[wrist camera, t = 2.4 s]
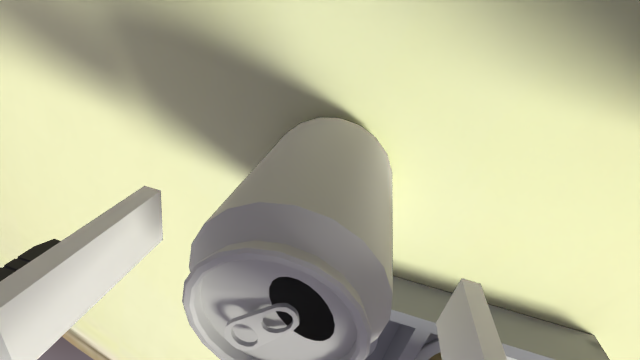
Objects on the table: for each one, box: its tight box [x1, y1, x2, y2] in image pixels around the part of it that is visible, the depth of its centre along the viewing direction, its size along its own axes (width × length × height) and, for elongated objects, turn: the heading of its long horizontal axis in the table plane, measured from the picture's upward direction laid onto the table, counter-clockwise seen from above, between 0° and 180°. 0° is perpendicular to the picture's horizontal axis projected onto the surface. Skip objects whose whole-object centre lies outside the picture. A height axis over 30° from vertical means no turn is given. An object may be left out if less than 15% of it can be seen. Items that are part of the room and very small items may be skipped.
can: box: [182, 117, 393, 360], centre depth 15 cm, size 8×8×12 cm
